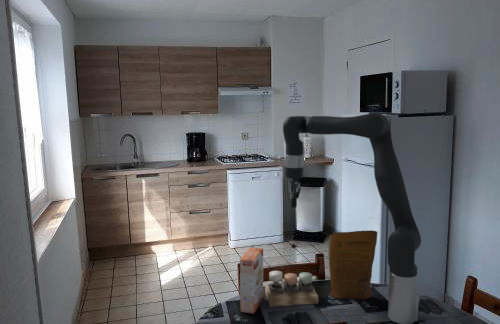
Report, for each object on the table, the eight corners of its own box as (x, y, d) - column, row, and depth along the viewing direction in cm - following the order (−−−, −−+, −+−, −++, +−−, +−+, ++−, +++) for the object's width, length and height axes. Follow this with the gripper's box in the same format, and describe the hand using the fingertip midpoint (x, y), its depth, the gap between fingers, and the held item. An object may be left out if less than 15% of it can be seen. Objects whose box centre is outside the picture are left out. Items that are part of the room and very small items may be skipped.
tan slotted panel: (309, 288, 171) (309, 276, 171) (318, 303, 158) (318, 290, 158) (265, 291, 169) (264, 279, 168) (270, 306, 156) (270, 293, 156)
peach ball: (295, 284, 166) (295, 272, 165) (298, 289, 161) (298, 278, 160) (283, 284, 166) (283, 273, 165) (285, 290, 160) (285, 278, 160)
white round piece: (281, 281, 165) (281, 270, 165) (283, 287, 160) (283, 275, 159) (268, 282, 165) (268, 271, 164) (270, 288, 160) (270, 276, 159)
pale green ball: (310, 283, 167) (310, 271, 166) (313, 288, 162) (313, 277, 161) (297, 283, 166) (297, 272, 166) (300, 289, 161) (300, 278, 160)
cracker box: (255, 314, 151) (254, 260, 148) (239, 312, 152) (238, 259, 149) (264, 297, 164) (263, 247, 161) (250, 295, 166) (249, 246, 163)
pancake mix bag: (377, 301, 159) (379, 232, 155) (328, 300, 160) (329, 232, 157) (373, 293, 166) (375, 227, 162) (326, 293, 167) (327, 227, 163)
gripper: (307, 168, 159) (306, 211, 161) (299, 163, 172) (298, 203, 174) (288, 168, 158) (288, 211, 160) (281, 163, 171) (281, 203, 173)
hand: (293, 207), depth 167 cm, fingers closed
